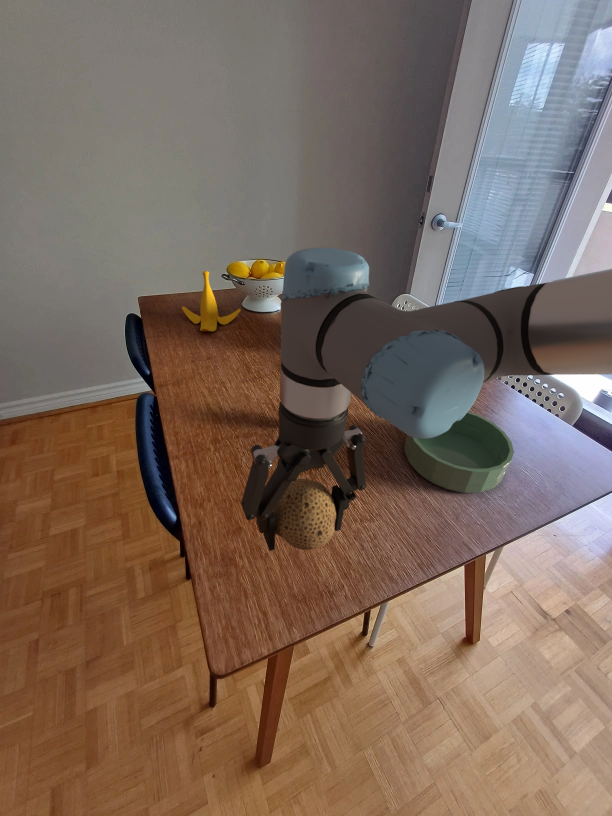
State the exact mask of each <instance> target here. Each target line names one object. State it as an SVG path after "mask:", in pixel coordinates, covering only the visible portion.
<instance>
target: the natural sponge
mask: <svg viewBox="0 0 612 816" xmlns="http://www.w3.org/2000/svg"><path fill="white" fill-rule="evenodd" d="M273 513H274V516H275V535H277V536H278V537H280V538H283V539H284V541H285V542H286V543H287V544H288V545H289V546H291V547H292V548H295V549H298V550H301V551H309V550H310V551H311V550H316V549H320V548H322V547H324V546H325V545H327V544H328V543H329V542H330V541H331V539H332V537H333V535H334V532H335V529H334V528H335V519H336V509H335V504H334V500H333V498H332V496H331V492H330V491H329V490H328V488H327V487H326V486H325V485H324V484H322V483H321V482H319V481H316V480H315V479H310V478H297V480H296V481H292V482H291V484H290V485H289V487H288V488H287V490H286V491H285V493H284V495H283V496H282V498H281V499H280V501H279V502H278V504H277V506H276V507H275V509H274V510H273Z"/></svg>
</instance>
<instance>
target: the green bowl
mask: <svg viewBox="0 0 612 816" xmlns="http://www.w3.org/2000/svg"><path fill="white" fill-rule="evenodd" d="M403 452H404V453H405V457H406V459H407V461H408V463H409V464H410V465H411V467H412V468H413V469H414V470H415V471H416V472H417V473H418V474H419V475H420V476H421V477H423V478H424V479H425V480H427V481H428V482H430V483H432V484H433V485H436V486H438V487H440V488H443V489H445V490H449V491H452V492H457V493H464V494H474V493H475V494H476V493H483V492H485V491H489V490H492V489H494V488H495V487H496V486H498V485H499V484H500V483H501V482H502V481H503V479H504V477H505V475H506V473H507V471H508V470H509V467H510V465H511V463H512V460H513V457H514V453H515V450H514V446H513V442H512V440H511V438H510V437H509V436H508V435H507V433H506V432H505V431H504V430H503V429H502V428H500V427H499V426H498V425H497V424H496V423H494V422H493V421H491V420H489V419H487V418H485V417H484V416H482V415H480V414H477V413H475V412H473V411H470V410H469V411H468V412H467V413H466V415H465V416H464V417H463V418H462V419H461V420H460V421H455V422H454V423H453V424H452V426H451V427H450V429H449V430H448V431H446V432H444V433H443V434H441V435H438V436H436V437H433V438H428V439H419V438H414V437H411V436H409V435H407V434H406V436H405V441H404V451H403Z"/></svg>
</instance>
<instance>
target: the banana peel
mask: <svg viewBox="0 0 612 816" xmlns="http://www.w3.org/2000/svg"><path fill="white" fill-rule="evenodd" d="M202 276H203V288H202V293H201V299H200V307H199V309H200V311H199V313H200V315H199V314H196V313H194V312H192V311H191V310H189V308H187V307H186V306H182V307H181V309H182V311H183V313H184V314H185V316H186V317H187V318H188V319H189V321H191V322H192V323H193V324H196V325H197V324H200V329H199V330H200V332H215V331H217V326H218V323H219V324H220V325H224V326H225V325H227V324H229V323H231V322H232V321H233V320H234V319H235V318H236V317H237V316H238V315H239V314H240V312H241V311H242V309H241V308H237V309H236V310H235V311H234V312H232V313H230V314H228V315H226V316H219V311H218V305H217V301H216V298H215V294H214V292H213V290H212V288H211V285H210V279H209V278H210V272H209V271H208V270H203V271H202Z"/></svg>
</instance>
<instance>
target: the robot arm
mask: <svg viewBox="0 0 612 816" xmlns="http://www.w3.org/2000/svg"><path fill="white" fill-rule="evenodd" d="M369 276H370V266H369V264H368V262H367V261H366V259H365V258H364V256H362V255H360V254H358V253H356V252H353V251H350V250H345V249H341V248H332V247H310V248H303V249H299V250H297V251H295V252H293V253H291V254H290V255H289V256H288V257H287V259H286V260H285V263H284V268H283V285H282V292H281V295H280V300H281V302H280V310H281V311H280V312H281V313H280V319H281V320H280V377H279V378H280V379H279V400H280V401H279V404H278V406H279V407H278V410H279V414H278V436H277V439H276V440H275V442H274V445H269V446H267V447H264V448H262V446H261V445H260V444H255V445H253V446H251V449H250V451H251V457H252V463H251V466H250V470H249V473H248V477H247V481H246V483H245V488H244V491H243V495H242V499H241V501H240V502H241V503H240V504H241V507H242V511H243V513H244V517H245V519H246V520H247V521H253V520H254V519H256V526H257V529H258V531H259V533H260V534H263V538H264V540H265V543H266V546H267V549H268V551H269V552H271V551H275V550H276V549H275V548H276V534H275V516H274V513H273V510H274V509H275V507H276V506H277V504H278V502H279V501H280V499H281V498H282V496H283V495H284V493H285V491H286V490H287V488H288V487H289V485H290V484H291V482H292V481H296V480H297V479H299V476H300V475H301V473H305V472H307V471H310V470H313V469H314V470H315V469H316V470H317V469H321V468H324V466H325V465H326V466H327V468H328V469H329V471H330V473H331V475H332V476H333V478H334V480H335V481H336V483H337V484H336V485H332V487H331V488H332V489H331V492H330V494H331V496H332V498H333V500H334V504H335V509H336V519H335V528H334V532H339V531H341V529H342V524H343V523H342V522H343V518H344V512H345V511H346V510H348V509H349V507H350V503H351V502H353V501H355V500H356V499H357V495H356V493H355V491H357V490H358V491H364V490H365V489H366V488H367V479H366V469H365V457H364V448H365V445H366V443H367V437H366V436H365V434H364V433H363V432H362V431H361V429H360V428H359V427H358V425H357V424H352V425H351V426H349V427H348V430H346V427H347V420H348V413H349V405H350V404H351V396H352V395H353V396H355V398H357V399H358V400H359V401H361V402H362V404H364V405H365V406H366V407H367V409H369V410H370V411H371V412H372V413H373V414H374V416H377V417H378V418H380V419H381V418H382V419H384V420H385V421H387V422H388V423H390V424H391V425H393V426H394V427H395V428H396V429H398V430H399V431H401V432H402V433H404V434H405V435H406V436H407V435H409V436H411V437H414V438H419V439H428V438H433V437H436V436H438V435H441V434H443V433H444V432H446V431H448V430H449V429H450V427H451V426H452V424H453V423H454V422H455V421H460V420H461V419H462V418H463V417H464V416H465V415H466V413H467V412H468V411H469V412H470V410H471V409H472V407H473V405H474V403H475V402H476V400H477V398H478V396H479V394H480V392H481V389H482V387H483V384H485V383H488V382H490V381H493V380H497V379H498V378H499V379H500V378H502V377H508V376H509V377H510V376H511V377H512V376H552V375H553V376H555V375H559V376H560V375H562V376H563V375H566V376H567V375H612V268H607V269H604V270H599V271H594V272H588V273H584V274H578V275H575V276H570V277H569V276H568V277H565V278H560V279H554V280H552V281H548V282H543V283H537V284H536V283H535V284H529V285H526V286H522V285H520V286H514V287H509V288H505V289H500V290H497V291H493V292H490V293H487V294H482V295H478V296H474V297H470V298H466V299H462V300H454V301H451V302H446V303H442V304H441V303H440V304H437V305H432V306H428V307H423V308H418V309H413V310H401V309H399V308H397V307H395V306H393V305H391V304H389V303H387V302H385V301H383V300H382V299H381V300H380V299H378V298H377V297H376V296H374V295H372V294H370V293H369V292H367V291H368V288H369V286H370V280H369V279H370V277H369ZM351 394H352V395H351ZM344 444H345V449H346V456H347V464H348V472H349V477H348V478H346V476H345V474H344V472H343V471H342V469H341V468H340V465H339V463H338V462H337V460H336V458H335V457H334V456H336V454H337V453H338V452H339V450H340V449H341V448H342V447H343V446H344ZM276 458H278V460H277V464H276V465H277V466H276V467H275V469H274V471H273V473H272V474H271V476H270V477H269V472H270V471H269V470H270V469H272V468H273V463H274V460H275V459H276ZM268 477H269V478H268Z"/></svg>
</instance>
